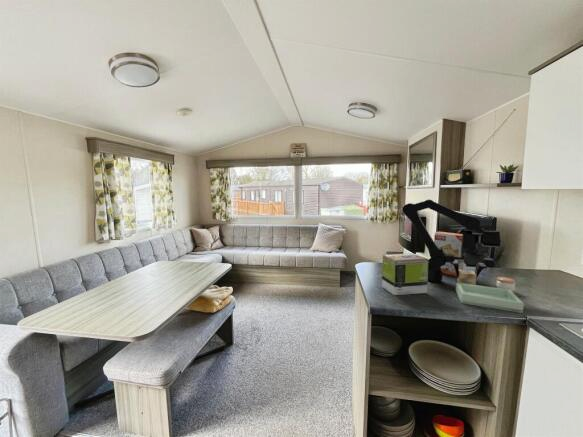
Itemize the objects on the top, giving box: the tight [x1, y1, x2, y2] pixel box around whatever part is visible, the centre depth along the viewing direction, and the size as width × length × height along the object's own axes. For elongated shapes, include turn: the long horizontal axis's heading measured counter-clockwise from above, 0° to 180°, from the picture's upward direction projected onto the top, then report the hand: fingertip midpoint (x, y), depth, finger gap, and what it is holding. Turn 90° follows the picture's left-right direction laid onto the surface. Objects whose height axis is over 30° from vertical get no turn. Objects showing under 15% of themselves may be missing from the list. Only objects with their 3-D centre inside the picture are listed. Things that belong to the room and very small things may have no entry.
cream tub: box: [495, 276, 516, 294], centre depth 108 cm, size 6×6×5 cm
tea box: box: [381, 253, 429, 296], centre depth 107 cm, size 15×10×15 cm
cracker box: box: [433, 231, 467, 277], centre depth 131 cm, size 14×6×21 cm, turn 43°
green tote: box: [455, 281, 525, 314], centre depth 98 cm, size 18×14×4 cm
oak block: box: [456, 270, 477, 285], centre depth 114 cm, size 6×6×5 cm
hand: (466, 279), depth 114 cm, fingers closed on oak block, 6 cm apart
